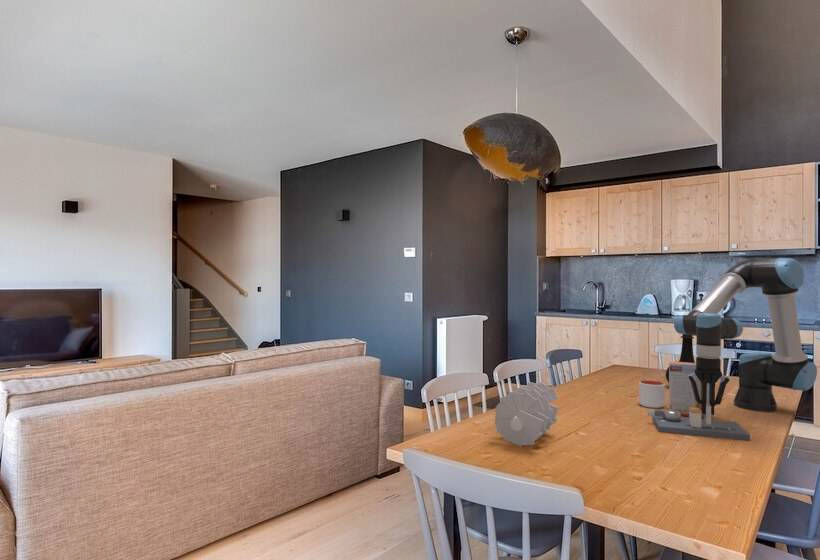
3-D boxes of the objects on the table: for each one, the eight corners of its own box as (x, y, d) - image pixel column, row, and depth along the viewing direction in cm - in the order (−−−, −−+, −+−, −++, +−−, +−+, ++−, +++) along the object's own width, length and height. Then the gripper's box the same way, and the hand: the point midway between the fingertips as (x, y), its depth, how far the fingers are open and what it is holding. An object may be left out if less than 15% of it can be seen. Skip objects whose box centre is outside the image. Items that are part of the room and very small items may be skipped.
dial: (679, 417, 188) (679, 409, 188) (682, 422, 183) (682, 414, 183) (647, 415, 192) (647, 407, 192) (649, 419, 186) (649, 411, 186)
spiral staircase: (503, 458, 162) (525, 433, 183) (552, 443, 153) (570, 420, 175) (479, 405, 165) (504, 387, 186) (527, 388, 156) (547, 371, 178)
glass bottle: (660, 384, 258) (660, 330, 258) (697, 386, 256) (697, 331, 256) (673, 392, 240) (674, 334, 240) (713, 394, 238) (714, 335, 238)
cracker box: (707, 415, 200) (708, 363, 200) (709, 419, 195) (710, 365, 195) (668, 411, 206) (669, 360, 206) (669, 414, 201) (669, 362, 201)
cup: (662, 410, 208) (662, 386, 208) (636, 406, 214) (636, 383, 214) (666, 405, 216) (667, 382, 216) (641, 401, 222) (642, 379, 222)
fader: (698, 424, 180) (698, 407, 180) (701, 427, 176) (701, 410, 176) (688, 423, 181) (688, 407, 181) (691, 426, 177) (691, 410, 177)
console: (735, 427, 184) (735, 421, 184) (750, 440, 169) (750, 434, 169) (652, 420, 193) (652, 414, 193) (658, 431, 178) (658, 426, 178)
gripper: (726, 356, 178) (725, 422, 178) (685, 354, 182) (684, 418, 182) (732, 359, 171) (731, 428, 171) (689, 357, 175) (689, 424, 175)
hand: (707, 423), depth 177 cm, fingers closed
